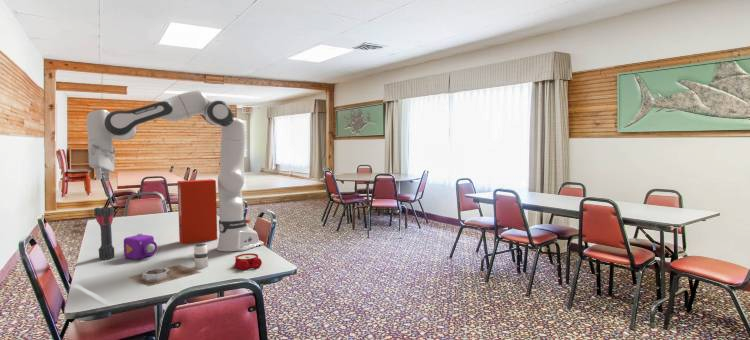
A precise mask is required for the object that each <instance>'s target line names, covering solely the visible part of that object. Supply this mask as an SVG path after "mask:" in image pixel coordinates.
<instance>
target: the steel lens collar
mask: <svg viewBox="0 0 750 340" xmlns="http://www.w3.org/2000/svg"><path fill="white" fill-rule="evenodd" d="M167 268H168V267H156V268H152V269H148V270H145V271H144V272H142V273H141V274H142V280H143V281H146V282H157V281H161V280H165V279H168V278H169V277H170V269H167Z"/></svg>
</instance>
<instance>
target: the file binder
mask: <svg viewBox="0 0 750 340" xmlns="http://www.w3.org/2000/svg"><path fill="white" fill-rule="evenodd" d="M177 202H178V203H177V206H178V207H177V208H178V209H177V210H178V231H179V232H178V233H179V235H178V236H179V242H180V243H181V245H186V244H194V243H195V244H196V243H200V242H202V241H203V242H208V241H209V240H210V241H216V240H215V239H217V240H218V217H217V216H218V214H217V212H218V211H217V180H216V179H212V178H209V179H208V178H207V179H193V180H177Z"/></svg>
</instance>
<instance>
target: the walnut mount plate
mask: <svg viewBox="0 0 750 340" xmlns="http://www.w3.org/2000/svg"><path fill="white" fill-rule="evenodd" d="M166 268H167V269H170V277H169V278H168V279H165V280H161V281H157V282H146V281H143V280H142V273H140V274H135V275H131V276H128V277H127V278H129V279H131V280H133V281H135V282H138V283H141V284H143V285H145V286H147V287H151V286H155V285H160V284H163V283H166V282H170V281H173V280H178V279H182V278H186V277H189V276H193V275H197V274H200V273H202V271H199V270H196V269H193V268H190V267H187V266H184V265H181V264H178V265H174V266H173V265H172V266H168V267H166Z"/></svg>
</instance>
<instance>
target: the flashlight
mask: <svg viewBox="0 0 750 340" xmlns="http://www.w3.org/2000/svg"><path fill="white" fill-rule="evenodd" d="M114 215H115V210H114V206H109V207H108V206H103V207H95V208H94V210H93V216H94V217H95V218H94V219H95V220H96V222H97V224H98V225H99V227H100V243H101V244H100V247H99V248H98V257H99V259H100V260H104V259H105V260H110V259H112V258H114V257H115V247H114V246H113V236H112V233H113V232H112V224H113V221H114Z"/></svg>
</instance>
